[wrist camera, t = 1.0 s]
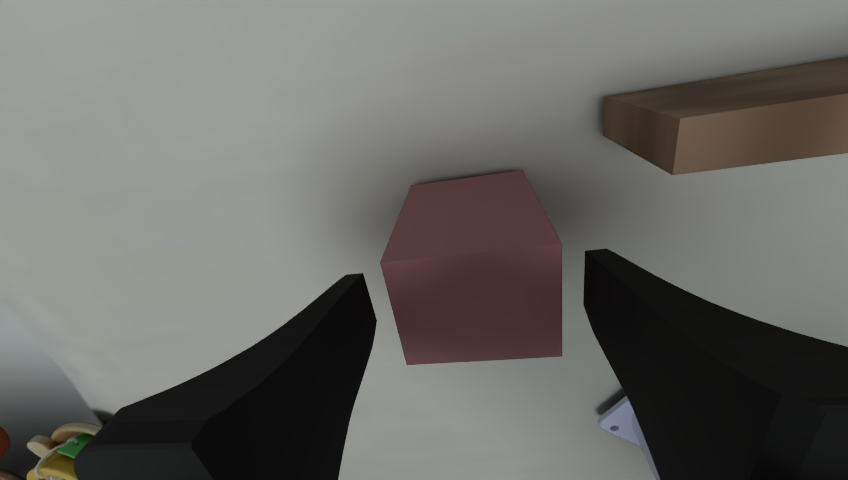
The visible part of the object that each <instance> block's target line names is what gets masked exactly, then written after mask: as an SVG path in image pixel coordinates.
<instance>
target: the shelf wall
mask: <svg viewBox="0 0 848 480" xmlns="http://www.w3.org/2000/svg"><path fill="white" fill-rule="evenodd" d="M603 136H604V137H606V138H608V139H610V140H612V141H613V142H615V143H617V144H619V145H620V146H622V147H624V148H626V149H627V150H629V151H631V152H633V153H634V154H636V155H638V156H640V157H641V158H643V159H645V160H647V161H649V162H650V163H652V164H654V165H656V166H657V167H659V168H661V169H663V170H664V171H666V172H668V173H670V174H671V175H677V174H685V173H693V172H701V171H709V170H717V169H724V168H732V167H740V166H748V165H756V164H764V163H772V162H780V161H788V160H795V159H803V158H811V157H819V156H827V155H835V154H843V153H848V57H845V58H839V59H833V60H827V61H821V62H814V63H808V64H802V65H796V66H790V67H784V68H778V69H772V70H766V71H759V72H753V73H747V74H741V75H735V76H729V77H723V78H717V79H710V80H704V81H698V82H692V83H686V84H680V85H674V86H668V87H662V88H655V89H649V90H643V91H637V92H631V93H625V94H619V95H613V96H607V97H605V100H604V121H603Z"/></svg>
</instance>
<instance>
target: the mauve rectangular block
mask: <svg viewBox="0 0 848 480" xmlns="http://www.w3.org/2000/svg"><path fill="white" fill-rule="evenodd" d="M380 264H381V267H382V271H383V275H384V279H385V283H386V287H387V290H388V294H389V298H390V302H391V306H392V310H393V314H394V317H395V321H396V325H397V329H398V333H399V337H400V341H401V344H402V348H403V352H404V356H405V360H406V364H407V365H415V364H433V363H451V362H469V361H488V360H506V359H524V358H542V357H560V356H562V244H561V242H560V240H559V238H558V236H557V234H556V232H555V230H554V228H553V227H552V225H551V223H550V221H549V219H548V217H547V215H546V213H545V212H544V210H543V208H542V206H541V204H540V202H539V200H538V198H537V197H536V195H535V193H534V191H533V189H532V187H531V185H530V183H529V182H528V180H527V178H526V176H525V174H524V172H523V170H520V171H513V172H505V173H498V174H491V175H484V176H476V177H469V178H462V179H455V180H447V181H440V182H433V183H425V184H418V185H411V187H410V190H409V192H408V195H407V197H406V200H405V202H404V205H403V207H402V210H401V212H400V215H399V217H398V220H397V222H396V225H395V227H394V230H393V232H392V235H391V237H390V240H389V242H388V245H387V247H386V250H385V252H384V255H383V257H382V260H381V262H380Z"/></svg>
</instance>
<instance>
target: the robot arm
mask: <svg viewBox="0 0 848 480" xmlns="http://www.w3.org/2000/svg"><path fill="white" fill-rule="evenodd" d="M584 307H585V310H586V313H587V316H588V319H589V322H590V324H591V327H592V330H593V332H594V334H595V336H596V338H597V340H598V342H599V344H600V346H601V348H602V350H603V352H604V354H605V356H606V358H607V359H608V361H609V363H610V365H611V367H612V369H613V371H614V373H615V375H616V377H617V378H618V380H619V382H620V384H621V386H622V388H623V390H624V392H625V394H626V396H625V397H624V398H623V399H621V400H620V401H619V402H618V403H616V404H615V405H614V406H613V407H611V408H610V409H609V410H608V411H606V412H605V413H604V414H603V415H601V416H600V417H599V418H598V423H599V426H600V427H601V428H602V429H604V430H606V431H608V432H610V433H612V434H615V435H617V436H619V437H621V438H623V439H625V440H627V441H629V442H631V443H634V444H636V445H638V446H640V447H641V448H642V450H643V452H644V454H645V456H646V459H647V461H648V463H649V465H650V467H651V470H652V472H653V474H654V476H655V478H656V480H848V347H846V346H842V345H838V344H835V343H831V342H827V341H823V340H819V339H816V338H813V337H809V336H806V335H802V334H799V333H795V332H792V331H789V330H786V329H783V328H780V327H777V326H774V325H771V324H768V323H764V322H761V321H758V320H756V319H753V318H750V317H747V316H744V315H742V314H739V313H736V312H734V311H731V310H729V309H726V308H724V307H721V306H719V305H716V304H714V303H711V302H709V301H707V300H704V299H702V298H700V297H698V296H695V295H693V294H691V293H689V292H687V291H685V290H683V289H681V288H679V287H677V286H675V285H673V284H671V283H669V282H667V281H665V280H663V279H661V278H659V277H657V276H655V275H653V274H652V273H650V272H648V271H646V270H644V269H642V268H641V267H639V266H637V265H635V264H634V263H632V262H630V261H628V260H626V259H625V258H623V257H621V256H619V255H618V254H616V253H614V252H612V251H610V250H608V249H599V250H589V251H585V273H584ZM376 322H377V320H376V316H375V313H374V309H373V306H372V303H371V299H370V296H369V292H368V289H367V285H366V282H365V279H364V275H363V273H361V274H351V275H345V276H344V277H342V278H341V279H340V280H338V281H337V282H336V283H335V284H334V285H332V286H331V287H330V288H329V289H328V290H326V291H325V292H324V293H323V294H322V295H320V296H319V297H318V298H317V299H316V300H314V301H313V302H312V303H311V304H310V305H308V306H307V307H306V308H305V309H304V310H302V311H301V312H300V313H298V314H297V315H296V316H294V317H293V318H292V319H291V320H289V321H288V322H287V323H285V324H284V325H283V326H281V327H280V328H279V329H277V330H276V331H274V332H273V333H272V334H270V335H269V336H267V337H266V338H264V339H263V340H261V341H259V342H258V343H256V344H255V345H253V346H252V347H250V348H248V349H247V350H245V351H243V352H241V353H240V354H238V355H236V356H234V357H233V358H231V359H229V360H227V361H225V362H224V363H222V364H220V365H218V366H216V367H214V368H213V369H211V370H209V371H207V372H205V373H202V374H200V375H198V376H196V377H194V378H192V379H190V380H188V381H186V382H184V383H181V384H179V385H177V386H175V387H172V388H170V389H168V390H165V391H163V392H160V393H158V394H155V395H153V396H151V397H148V398H146V399H143V400H141V401H138V402H136V403H133V404H131V405H128V406H125V407H123V408H121V409H120V410H119V411H117V413H116V414H115V415H114V416H113V417H112V418H111V419H110V420H109V421H108V422H107V423H106V424H105V425H104V426H103V427H102V428H101V429H100V430H99V431H98V432H97V433H96V434H95V435H94V437H93V438H92V439H91V440H90V441H89V442H88V443H87V444H86V445H85V446H84V447H83V448H82V449H81V450H80V451H79V452H78V454H77V455H76V456H75V458H74V472H75V474H76V477H77V479H78V480H338V476H339V471H340V465H341V460H342V455H343V449H344V445H345V440H346V435H347V430H348V426H349V421H350V417H351V413H352V410H353V406H354V403H355V400H356V397H357V394H358V390H359V387H360V384H361V381H362V378H363V375H364V372H365V369H366V366H367V362H368V359H369V356H370V353H371V350H372V346H373V341H374V335H375V329H376Z"/></svg>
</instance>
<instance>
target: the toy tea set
mask: <svg viewBox="0 0 848 480" xmlns="http://www.w3.org/2000/svg"><path fill="white" fill-rule="evenodd" d="M101 428H102V427H101V426H98V425H94V424H89V423H82V422H72V423H67V424H64V425H62V426H60V427H59V428H58V429H57V430H56V431H55V432H54V433H53V435H52V437H51V438H50V439H49V438H48V437H45V436H39V435H38V436H35V437H33V438H32V439H31V440H30V442H28V443H27V447H28V449H30V450H31V451H32V452H33V453H35V454H36V455H38V456H39V457H41V460H40V461H39V462H38V464H37V466H35V467H34V468H33V469H31V470H30V471H29V472H28V474H27V480H78V479H77V477H76V474H75V472H74V458H75V456H76V455H77V454H78V452H79V451H80V450H81V449H82V448H83V447H84V446H85V445H86V444H87V443H88V442H89V441H90V440H91V439H92V438H93V437H94V435H95V434H96V433H97V432H98V431H99V430H100V429H101ZM9 447H10V438H9V436H8V434H7V433H6V432H5V430H4V429H2V428H1V427H0V458H1V457H2V456H3V455H4V454H5V453H6V452H7V450H8V449H9ZM0 480H26V479H24V478H23V477H21V476H19V475H17V474H15V473H12V472H9V471H6V470H3V469H0Z"/></svg>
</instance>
